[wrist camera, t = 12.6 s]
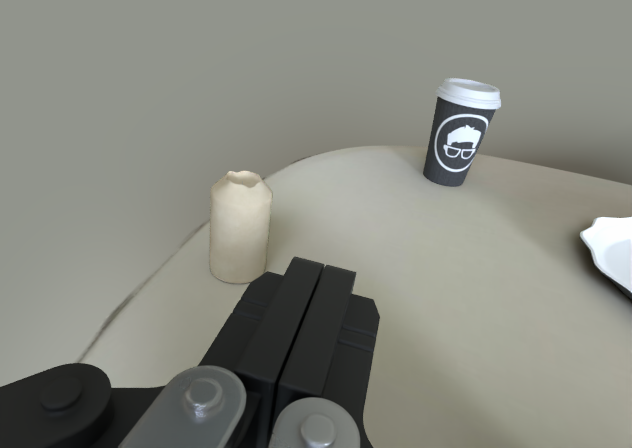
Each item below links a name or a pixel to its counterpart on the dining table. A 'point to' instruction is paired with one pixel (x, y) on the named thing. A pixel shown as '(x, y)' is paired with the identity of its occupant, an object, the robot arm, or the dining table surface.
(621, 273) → the plate
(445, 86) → the coffee cup
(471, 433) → the dining table surface
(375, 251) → the dining table surface
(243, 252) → the candle
